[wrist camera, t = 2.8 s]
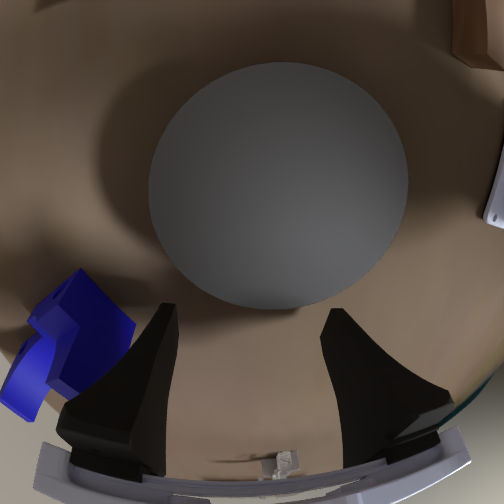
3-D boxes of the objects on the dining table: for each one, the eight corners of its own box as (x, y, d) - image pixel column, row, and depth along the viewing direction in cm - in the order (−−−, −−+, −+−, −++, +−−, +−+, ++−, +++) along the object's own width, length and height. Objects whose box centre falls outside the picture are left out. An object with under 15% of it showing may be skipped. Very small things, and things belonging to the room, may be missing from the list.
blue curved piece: (81, 266, 12) (30, 355, 7) (136, 322, 14) (112, 414, 9) (11, 329, 15) (-19, 386, 10) (49, 364, 17) (28, 422, 12)
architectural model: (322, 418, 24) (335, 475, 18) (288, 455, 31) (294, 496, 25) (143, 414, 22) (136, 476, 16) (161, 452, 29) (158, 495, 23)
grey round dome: (380, 100, 9) (431, 108, 6) (337, 263, 13) (363, 311, 10) (180, 64, 8) (158, 49, 5) (170, 250, 12) (154, 301, 9)
